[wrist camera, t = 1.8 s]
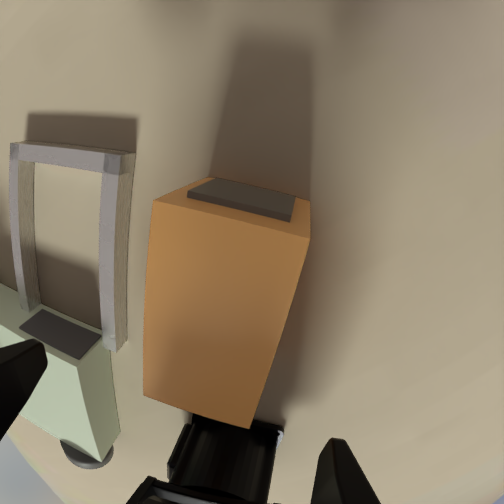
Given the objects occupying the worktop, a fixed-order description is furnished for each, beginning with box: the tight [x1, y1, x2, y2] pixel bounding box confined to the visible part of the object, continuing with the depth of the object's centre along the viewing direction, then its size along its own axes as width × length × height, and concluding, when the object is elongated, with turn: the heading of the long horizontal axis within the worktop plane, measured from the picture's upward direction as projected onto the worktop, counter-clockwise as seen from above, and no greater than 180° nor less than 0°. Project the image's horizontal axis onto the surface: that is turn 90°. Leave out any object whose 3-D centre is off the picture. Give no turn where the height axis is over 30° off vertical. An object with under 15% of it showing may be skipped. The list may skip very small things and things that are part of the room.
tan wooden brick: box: [143, 177, 310, 429], centre depth 14 cm, size 5×9×6 cm, turn 169°
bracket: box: [9, 141, 136, 353], centre depth 17 cm, size 9×12×2 cm
